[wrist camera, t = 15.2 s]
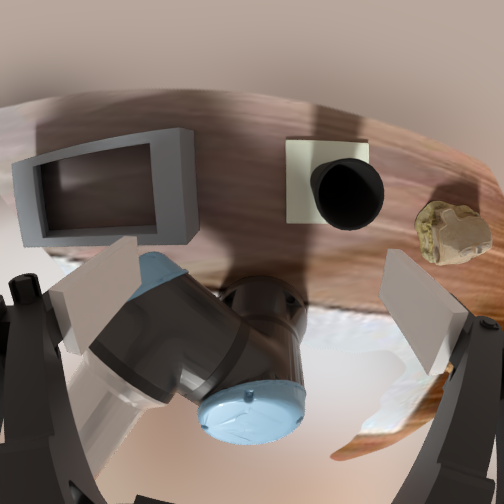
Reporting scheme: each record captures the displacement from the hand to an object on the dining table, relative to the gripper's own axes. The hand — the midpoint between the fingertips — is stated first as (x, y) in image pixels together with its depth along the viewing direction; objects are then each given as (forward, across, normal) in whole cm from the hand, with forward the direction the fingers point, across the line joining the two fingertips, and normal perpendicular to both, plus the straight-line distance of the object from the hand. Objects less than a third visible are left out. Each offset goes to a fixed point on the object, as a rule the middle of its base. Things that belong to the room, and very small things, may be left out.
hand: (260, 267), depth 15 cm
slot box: (+29, +26, 0) cm, 39 cm away
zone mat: (+28, -9, -2) cm, 30 cm away
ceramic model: (+29, -31, +4) cm, 43 cm away
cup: (+28, -9, -2) cm, 30 cm away
